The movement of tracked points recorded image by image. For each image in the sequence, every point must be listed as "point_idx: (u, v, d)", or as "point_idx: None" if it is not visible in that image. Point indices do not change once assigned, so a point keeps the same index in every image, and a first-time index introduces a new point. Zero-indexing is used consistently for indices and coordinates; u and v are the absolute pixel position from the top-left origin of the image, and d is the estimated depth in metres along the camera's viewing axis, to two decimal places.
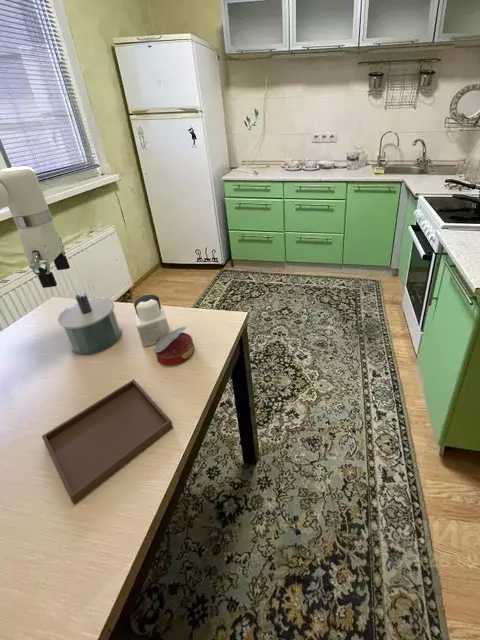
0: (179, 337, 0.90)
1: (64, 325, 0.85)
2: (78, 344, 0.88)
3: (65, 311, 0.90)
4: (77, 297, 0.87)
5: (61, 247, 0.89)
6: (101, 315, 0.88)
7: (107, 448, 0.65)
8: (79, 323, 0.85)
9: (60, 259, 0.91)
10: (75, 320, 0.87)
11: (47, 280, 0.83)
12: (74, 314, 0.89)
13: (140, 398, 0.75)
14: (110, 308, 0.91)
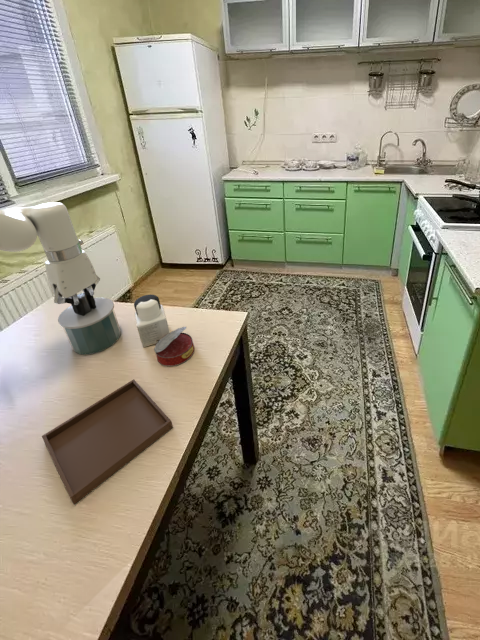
0: (179, 337, 0.90)
1: (64, 325, 0.85)
2: (78, 344, 0.88)
3: (65, 311, 0.90)
4: None
5: (93, 279, 0.89)
6: (101, 315, 0.88)
7: (107, 448, 0.65)
8: (79, 323, 0.85)
9: None
10: (75, 320, 0.87)
11: (76, 309, 0.87)
12: (74, 314, 0.89)
13: (140, 398, 0.75)
14: (110, 308, 0.91)
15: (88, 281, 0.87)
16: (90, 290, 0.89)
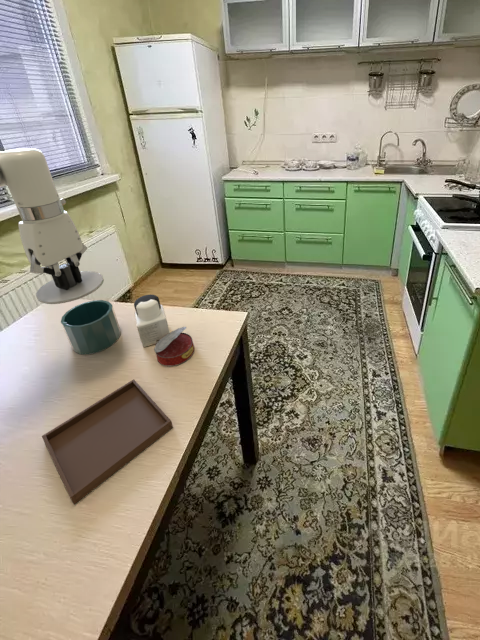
0: (179, 337, 0.90)
1: (43, 300, 0.71)
2: (78, 344, 0.88)
3: (45, 285, 0.77)
4: (59, 267, 0.73)
5: (78, 247, 0.75)
6: (88, 289, 0.75)
7: (107, 448, 0.65)
8: (61, 298, 0.72)
9: None
10: (57, 295, 0.73)
11: (57, 282, 0.73)
12: (56, 288, 0.75)
13: (140, 398, 0.75)
14: (99, 282, 0.77)
15: (72, 248, 0.73)
16: (75, 260, 0.75)
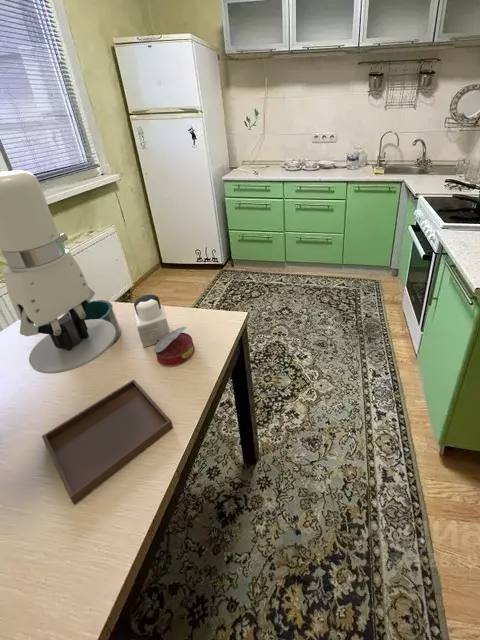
0: (179, 337, 0.90)
1: (38, 368, 0.54)
2: None
3: (42, 343, 0.60)
4: (59, 323, 0.56)
5: (84, 295, 0.58)
6: (96, 350, 0.57)
7: (107, 448, 0.65)
8: (62, 364, 0.55)
9: None
10: (56, 359, 0.56)
11: (57, 342, 0.56)
12: (55, 348, 0.58)
13: (140, 398, 0.75)
14: (110, 337, 0.60)
15: (76, 298, 0.56)
16: (79, 311, 0.58)
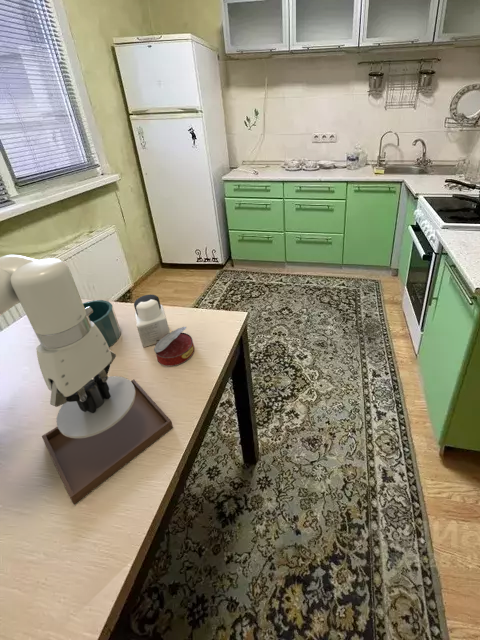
0: (179, 337, 0.90)
1: (66, 432, 0.58)
2: None
3: (67, 403, 0.64)
4: (84, 388, 0.60)
5: (107, 361, 0.62)
6: (119, 412, 0.61)
7: (107, 448, 0.65)
8: (87, 429, 0.59)
9: None
10: (81, 422, 0.60)
11: (82, 406, 0.60)
12: (80, 410, 0.62)
13: (140, 398, 0.75)
14: (131, 398, 0.64)
15: (100, 365, 0.60)
16: (102, 375, 0.62)
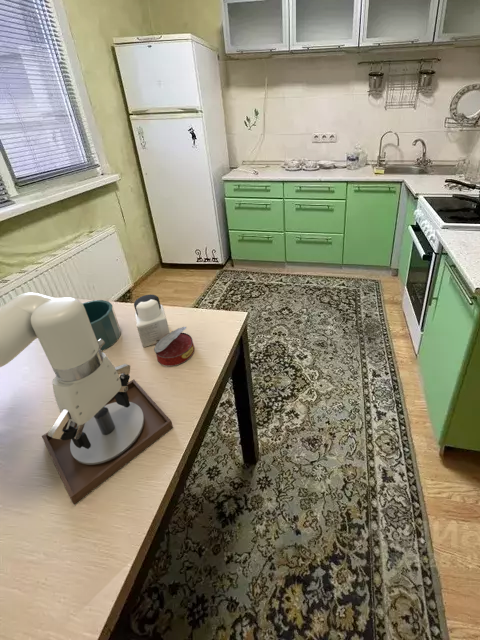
0: (179, 337, 0.90)
1: (79, 459, 0.62)
2: None
3: None
4: (96, 416, 0.64)
5: (117, 388, 0.65)
6: (129, 438, 0.65)
7: None
8: (100, 455, 0.62)
9: (119, 396, 0.68)
10: (94, 448, 0.63)
11: (77, 443, 0.60)
12: (92, 436, 0.66)
13: (140, 398, 0.75)
14: (140, 424, 0.68)
15: (110, 393, 0.64)
16: (121, 389, 0.67)
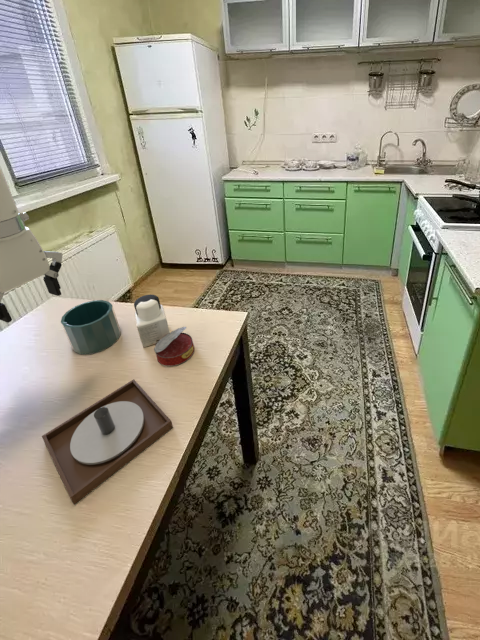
0: (179, 337, 0.90)
1: (79, 459, 0.62)
2: (78, 344, 0.88)
3: (79, 429, 0.67)
4: (96, 416, 0.64)
5: (43, 269, 0.64)
6: (129, 438, 0.65)
7: None
8: (100, 455, 0.62)
9: (49, 282, 0.68)
10: (94, 448, 0.63)
11: None
12: (92, 436, 0.66)
13: (140, 398, 0.75)
14: (140, 424, 0.68)
15: (35, 271, 0.63)
16: (50, 273, 0.67)
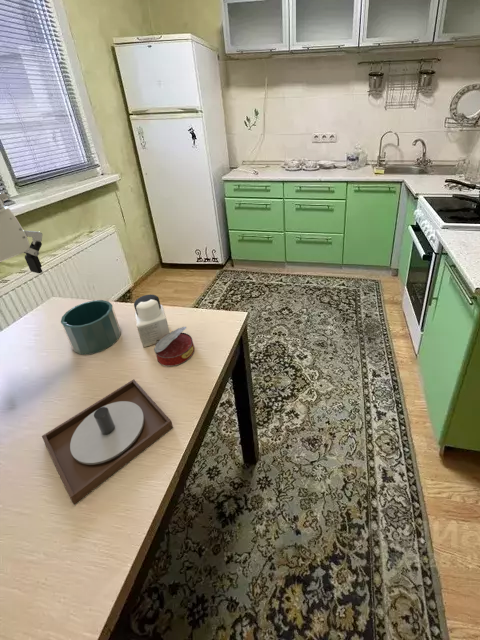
0: (179, 337, 0.90)
1: (79, 459, 0.62)
2: (78, 344, 0.88)
3: (79, 429, 0.67)
4: (96, 416, 0.64)
5: (24, 247, 0.68)
6: (129, 438, 0.65)
7: None
8: (100, 455, 0.62)
9: (30, 260, 0.71)
10: (94, 448, 0.63)
11: None
12: (92, 436, 0.66)
13: (140, 398, 0.75)
14: (140, 424, 0.68)
15: (15, 248, 0.67)
16: (31, 251, 0.70)
